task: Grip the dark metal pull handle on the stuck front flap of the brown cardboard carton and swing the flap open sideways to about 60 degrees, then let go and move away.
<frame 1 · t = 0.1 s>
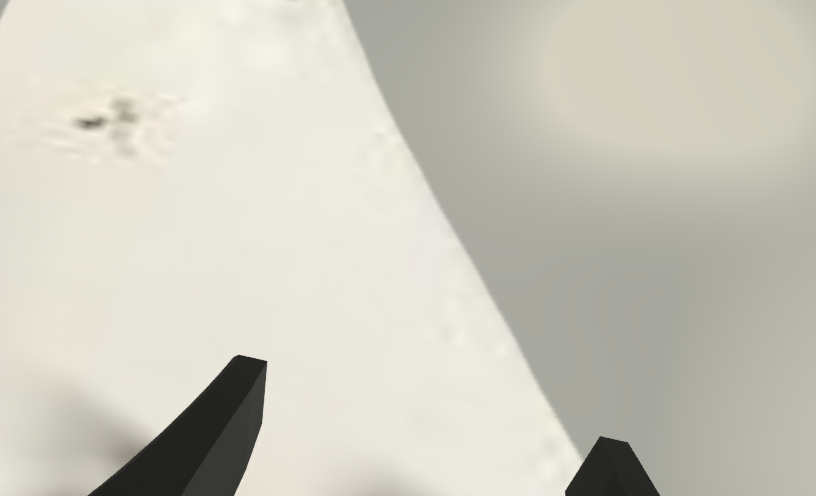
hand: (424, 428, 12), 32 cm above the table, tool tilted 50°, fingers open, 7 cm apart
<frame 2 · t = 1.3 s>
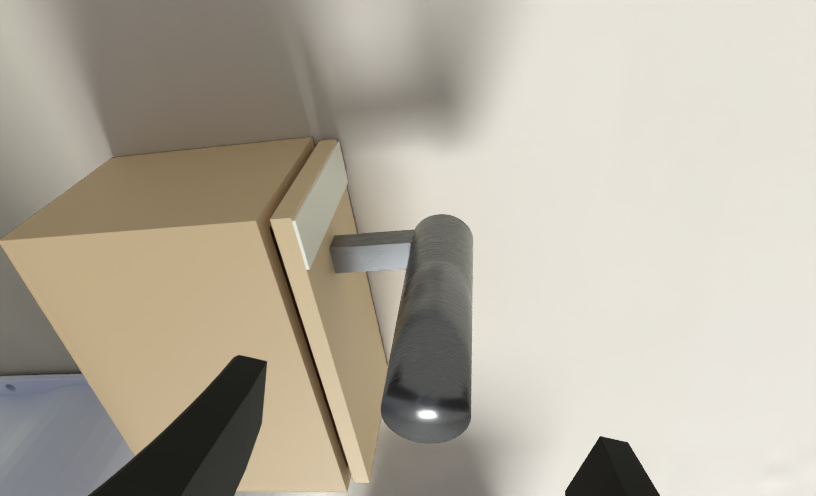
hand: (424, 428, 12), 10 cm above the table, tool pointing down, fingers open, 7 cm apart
carton flap: (400, 355, 18), point 5 cm above the table, hinge at 0.0°
carton: (256, 278, 23), on the table
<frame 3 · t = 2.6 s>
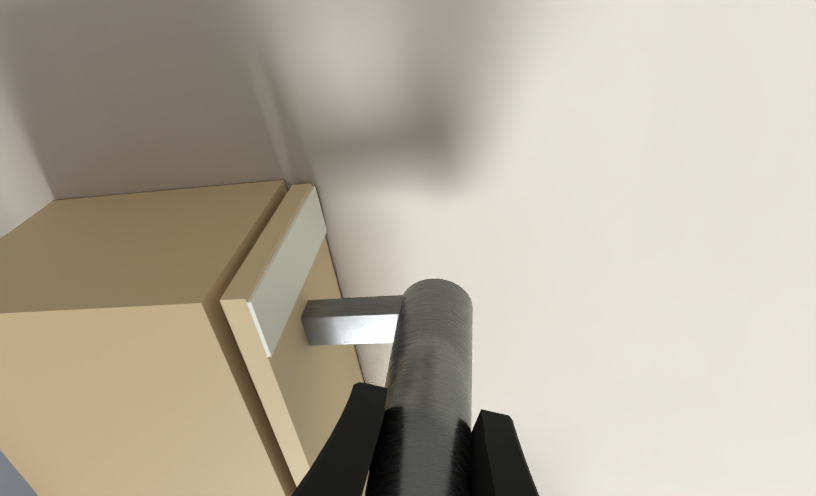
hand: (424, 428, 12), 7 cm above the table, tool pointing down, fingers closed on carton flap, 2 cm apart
carton flap: (385, 445, 15), point 5 cm above the table, hinge at 0.0°, touching gripper
carton: (224, 333, 21), on the table
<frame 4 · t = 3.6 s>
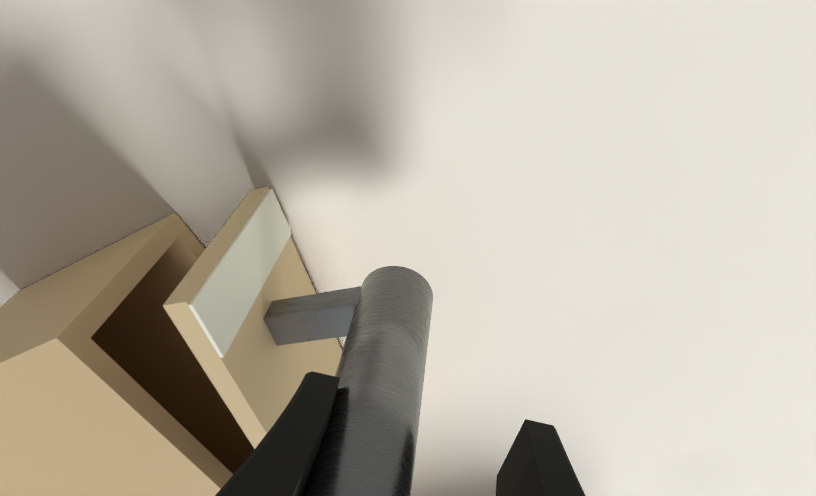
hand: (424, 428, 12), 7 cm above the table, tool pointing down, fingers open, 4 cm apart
carton flap: (360, 438, 15), point 5 cm above the table, hinge at 12.8°, touching gripper
carton: (201, 369, 22), on the table
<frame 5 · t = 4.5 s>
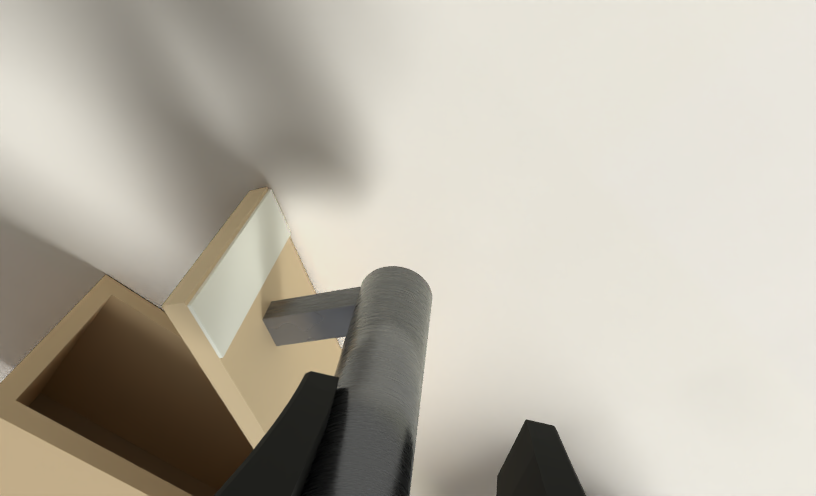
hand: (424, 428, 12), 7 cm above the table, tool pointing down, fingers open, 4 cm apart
carton flap: (359, 438, 15), point 5 cm above the table, hinge at 33.1°, touching gripper
carton: (197, 410, 23), on the table
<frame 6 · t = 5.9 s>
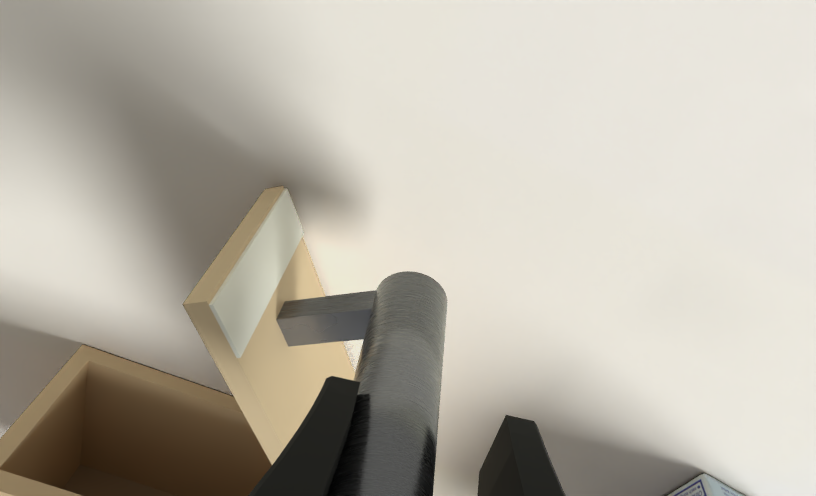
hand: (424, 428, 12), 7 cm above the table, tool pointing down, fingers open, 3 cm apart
carton flap: (369, 442, 15), point 5 cm above the table, hinge at 55.3°, touching gripper
carton: (211, 449, 25), on the table
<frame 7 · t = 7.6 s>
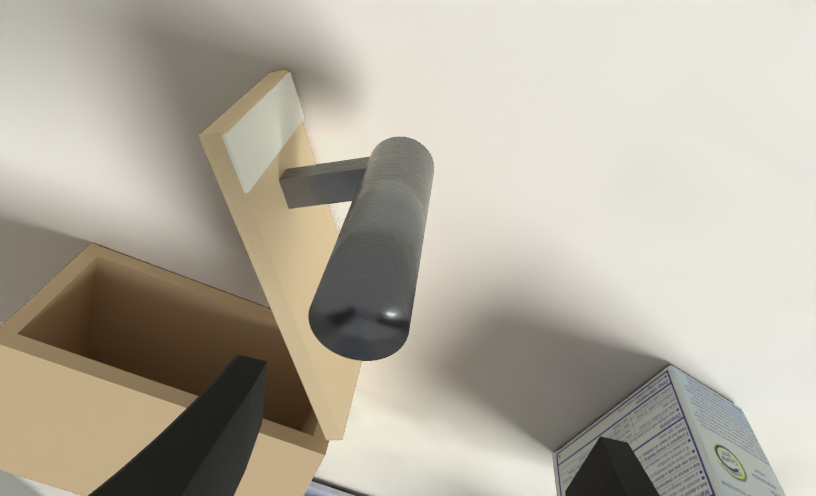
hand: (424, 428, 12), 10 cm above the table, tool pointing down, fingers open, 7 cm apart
carton flap: (360, 293, 17), point 5 cm above the table, hinge at 56.7°
medicine box: (638, 424, 26), on the table
carton: (211, 352, 26), on the table
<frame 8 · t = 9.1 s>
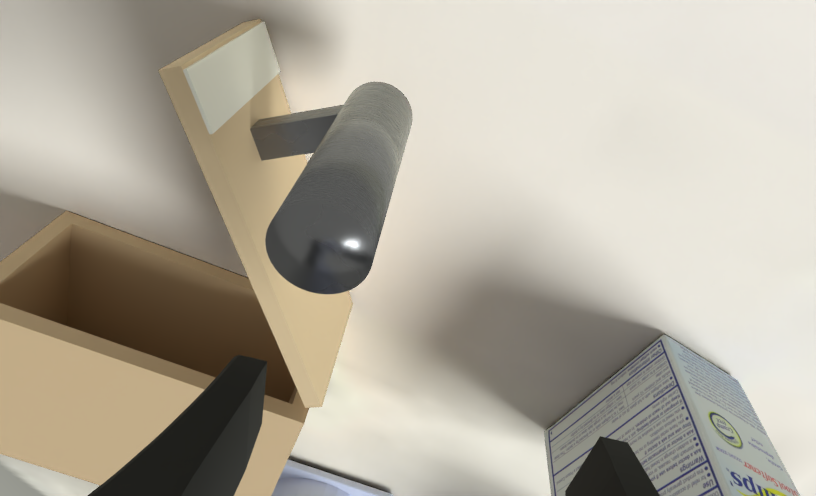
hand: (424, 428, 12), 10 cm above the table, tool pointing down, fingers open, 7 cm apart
carton flap: (336, 247, 16), point 5 cm above the table, hinge at 56.7°
medicine box: (632, 399, 25), on the table
carton: (192, 327, 25), on the table
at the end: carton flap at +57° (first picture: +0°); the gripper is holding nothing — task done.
